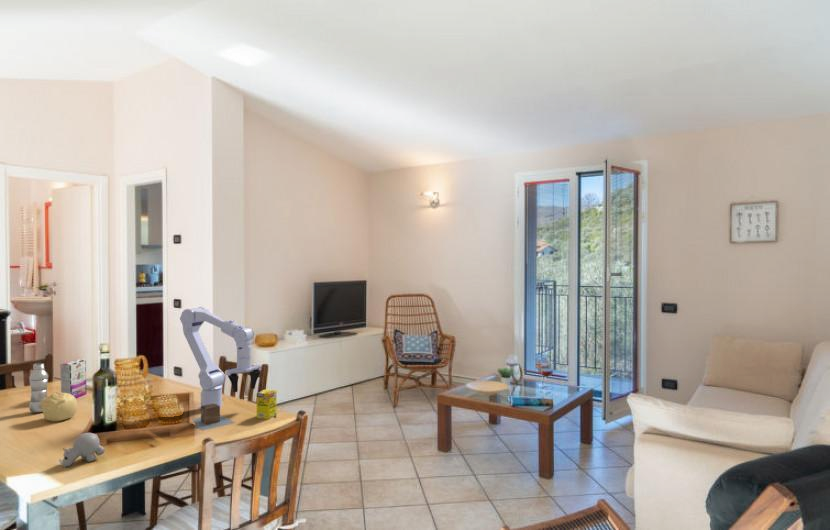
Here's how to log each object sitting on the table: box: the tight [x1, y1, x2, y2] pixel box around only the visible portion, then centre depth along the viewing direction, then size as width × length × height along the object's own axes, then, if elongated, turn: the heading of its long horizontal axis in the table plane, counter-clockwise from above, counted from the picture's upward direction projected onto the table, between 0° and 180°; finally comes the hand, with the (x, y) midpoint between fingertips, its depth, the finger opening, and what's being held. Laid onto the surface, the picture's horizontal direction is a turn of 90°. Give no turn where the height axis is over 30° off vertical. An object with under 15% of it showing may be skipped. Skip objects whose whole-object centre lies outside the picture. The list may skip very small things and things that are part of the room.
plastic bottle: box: [28, 362, 49, 414], centre depth 220 cm, size 6×7×20 cm
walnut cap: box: [200, 404, 221, 425], centre depth 205 cm, size 5×5×6 cm
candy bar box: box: [59, 358, 88, 399], centre depth 244 cm, size 11×5×16 cm, turn 179°
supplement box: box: [256, 389, 278, 420], centre depth 212 cm, size 6×6×11 cm
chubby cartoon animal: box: [58, 432, 106, 468], centre depth 168 cm, size 7×12×8 cm, turn 143°
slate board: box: [193, 414, 236, 431], centre depth 205 cm, size 16×13×1 cm
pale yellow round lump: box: [40, 391, 79, 423], centre depth 211 cm, size 12×12×11 cm
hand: (244, 390), depth 220 cm, fingers open, 7 cm apart
